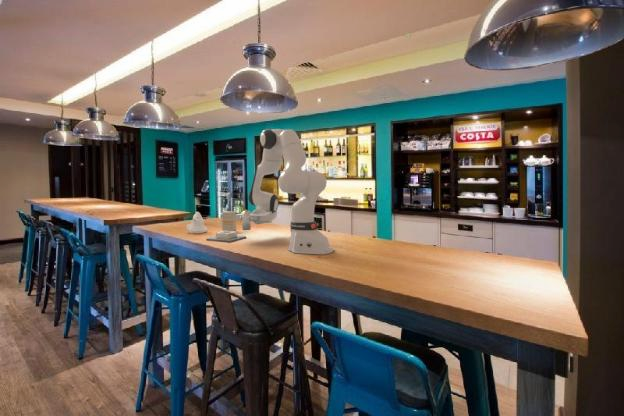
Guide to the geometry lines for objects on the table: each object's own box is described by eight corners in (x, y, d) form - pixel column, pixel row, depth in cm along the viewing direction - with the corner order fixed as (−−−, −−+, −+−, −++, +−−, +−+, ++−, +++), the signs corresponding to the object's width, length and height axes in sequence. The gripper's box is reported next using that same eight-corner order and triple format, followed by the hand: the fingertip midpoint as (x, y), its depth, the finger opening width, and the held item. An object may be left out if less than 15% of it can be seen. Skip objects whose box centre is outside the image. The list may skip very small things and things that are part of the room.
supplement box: (236, 230, 235) (236, 211, 234) (234, 232, 231) (234, 212, 229) (224, 230, 236) (224, 211, 235) (221, 231, 231) (221, 211, 230)
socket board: (246, 237, 209) (246, 231, 208) (229, 242, 194) (229, 235, 193) (223, 235, 215) (223, 229, 214) (206, 240, 200) (206, 233, 200)
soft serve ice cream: (210, 232, 236) (214, 212, 233) (198, 238, 222) (202, 217, 219) (194, 227, 238) (197, 207, 235) (181, 232, 224) (184, 211, 221)
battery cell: (252, 229, 195) (251, 209, 194) (247, 230, 191) (247, 210, 190) (245, 228, 196) (245, 209, 196) (240, 229, 192) (240, 210, 191)
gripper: (243, 210, 209) (229, 212, 196) (274, 211, 201) (261, 213, 188) (243, 221, 209) (229, 223, 196) (274, 222, 201) (261, 225, 189)
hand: (245, 218), depth 192 cm, fingers closed on battery cell, 4 cm apart
